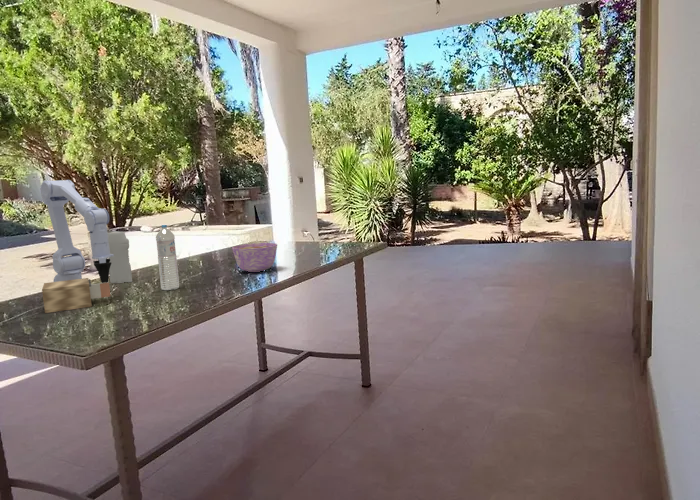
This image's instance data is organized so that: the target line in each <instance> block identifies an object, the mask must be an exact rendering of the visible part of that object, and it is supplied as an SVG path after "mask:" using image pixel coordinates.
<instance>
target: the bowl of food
mask: <svg viewBox="0 0 700 500" xmlns="http://www.w3.org/2000/svg"><path fill="white" fill-rule="evenodd" d="M231 250H232V252H233V256H234V259H235V261H236V264H237V266H238V268H239V269H241V270H243V271H244V272H245V271H246V272H247V271H248V272H260V271H264V270H266V271H267V270H268V269H270V268H271V267H272V266H273V265H274V264H275V261H276V255H277V250H278V244H277V243H275V242H257V243H246V244H239V245H235V246H232V247H231ZM248 272H247V273H248ZM264 272H265V271H264ZM260 273H261V272H260Z"/></svg>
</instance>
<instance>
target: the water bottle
mask: <svg viewBox="0 0 700 500" xmlns="http://www.w3.org/2000/svg"><path fill="white" fill-rule="evenodd" d="M167 227H168V226H167V224H163V225H162V224H161V229H160V230H159V231H158V232H157V233H156V235H155V241H156V249H157V261H158V272H159V279H160V281H159V282H160V289H161V291H174V290H178V289H180V277H179V270H178V259H177V258H178V257H177V251H176V241H175V239H176V238H175V234H174V233H173V232H172V231H171V230H169V229H168V228H167Z"/></svg>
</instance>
